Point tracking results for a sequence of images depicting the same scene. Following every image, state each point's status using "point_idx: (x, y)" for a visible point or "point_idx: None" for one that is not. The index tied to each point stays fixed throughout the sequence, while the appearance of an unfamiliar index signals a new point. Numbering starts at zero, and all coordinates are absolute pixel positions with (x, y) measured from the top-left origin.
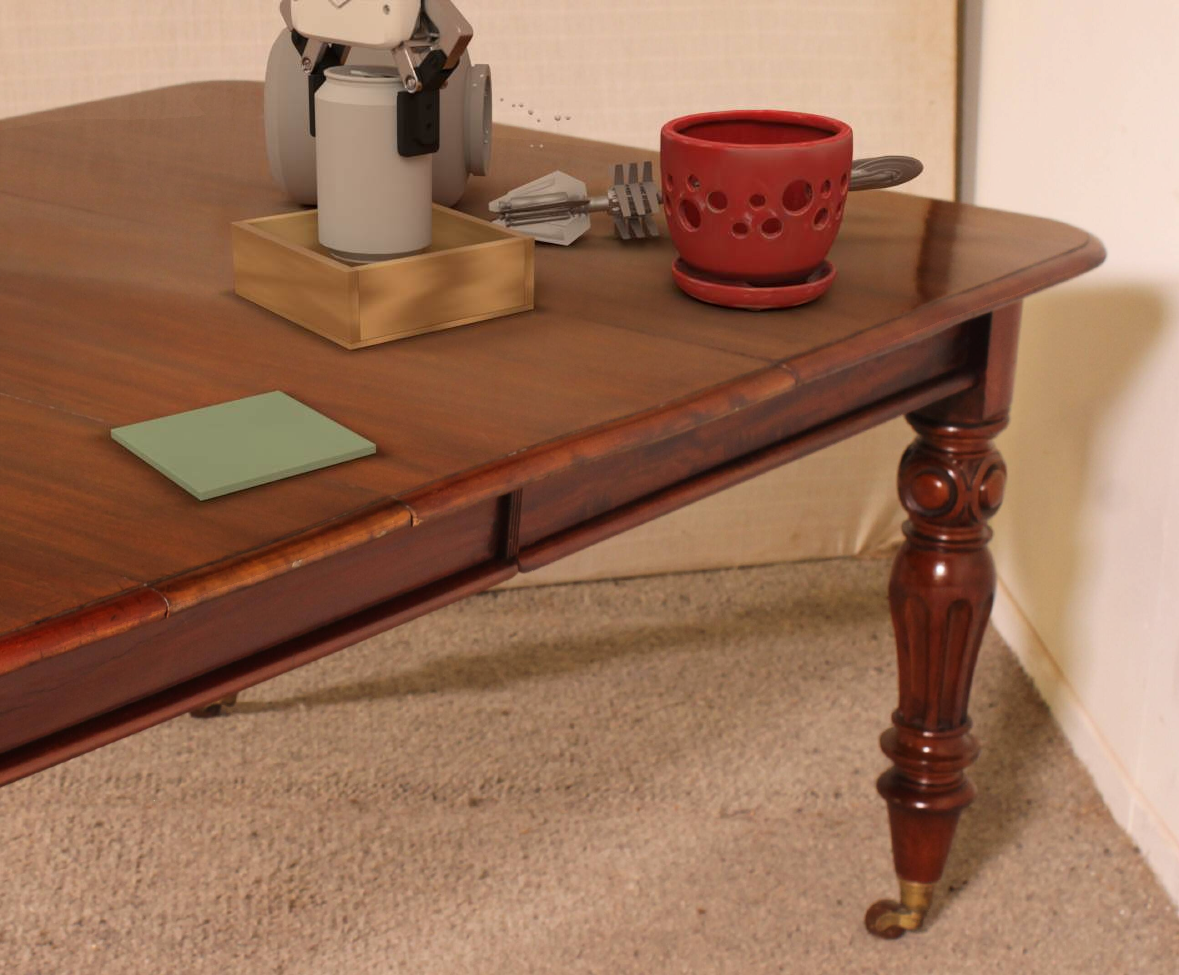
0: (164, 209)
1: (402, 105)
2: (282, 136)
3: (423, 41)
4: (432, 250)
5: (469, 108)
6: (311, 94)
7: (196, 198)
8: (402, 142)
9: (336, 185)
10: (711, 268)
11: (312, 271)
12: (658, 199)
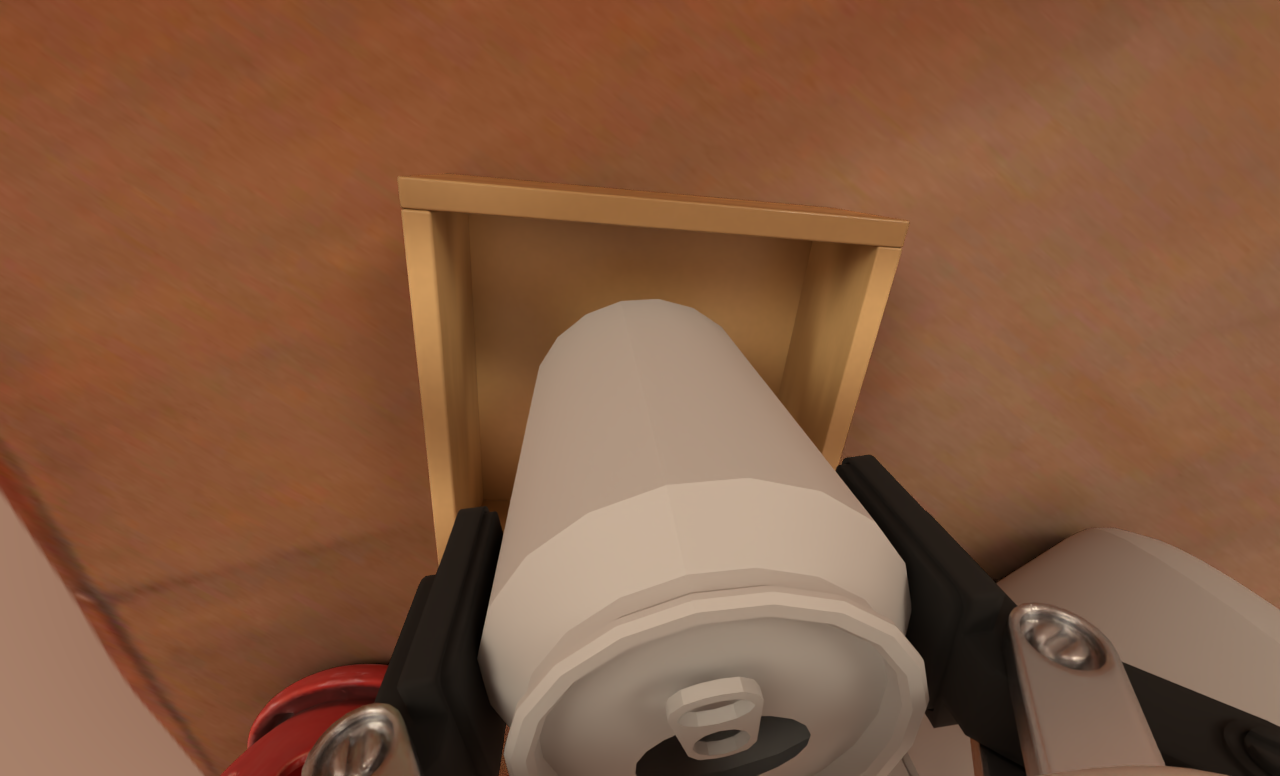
0: (1252, 389)
1: (419, 636)
2: (1180, 583)
3: None
4: None
5: None
6: (936, 540)
7: (1241, 456)
8: (455, 532)
9: (631, 351)
10: (321, 709)
11: (557, 188)
12: None
